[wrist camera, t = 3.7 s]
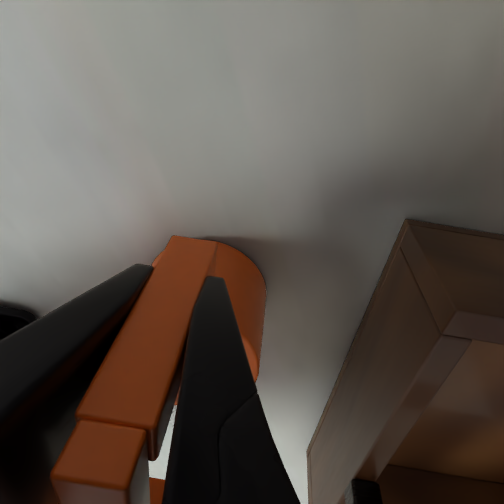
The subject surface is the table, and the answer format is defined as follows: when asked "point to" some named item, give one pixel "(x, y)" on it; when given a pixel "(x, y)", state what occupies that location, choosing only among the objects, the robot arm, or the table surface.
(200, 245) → the measuring cup
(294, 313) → the table surface
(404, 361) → the basket
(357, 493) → the basket handle
